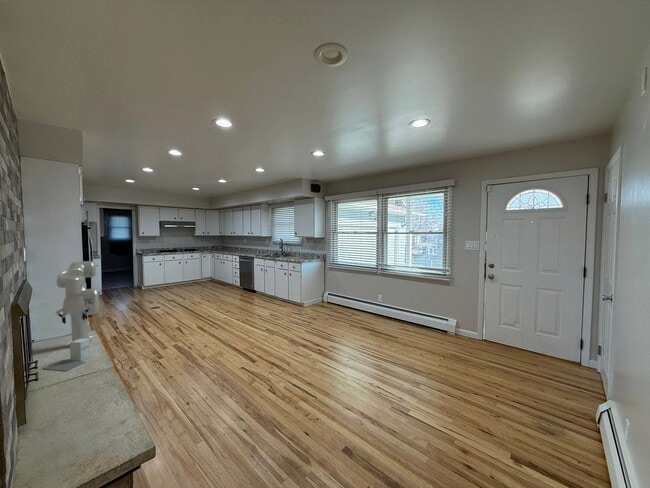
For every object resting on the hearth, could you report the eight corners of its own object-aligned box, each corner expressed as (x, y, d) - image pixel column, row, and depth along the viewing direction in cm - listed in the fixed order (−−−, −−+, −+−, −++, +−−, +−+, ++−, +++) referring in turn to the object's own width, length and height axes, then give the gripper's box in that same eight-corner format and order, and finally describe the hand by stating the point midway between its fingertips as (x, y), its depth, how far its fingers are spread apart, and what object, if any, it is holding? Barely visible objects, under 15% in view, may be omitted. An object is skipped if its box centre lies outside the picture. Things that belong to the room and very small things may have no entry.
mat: (63, 360, 187) (63, 360, 187) (85, 362, 184) (85, 361, 184) (42, 369, 175) (42, 368, 175) (66, 371, 172) (66, 370, 172)
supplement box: (80, 361, 187) (80, 342, 186) (70, 360, 187) (69, 342, 186) (90, 356, 194) (89, 338, 194) (80, 356, 194) (79, 338, 194)
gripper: (88, 293, 193) (89, 317, 194) (54, 297, 179) (55, 323, 180) (91, 294, 189) (92, 319, 189) (56, 299, 175) (57, 326, 176)
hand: (74, 321), depth 185 cm, fingers open, 9 cm apart
